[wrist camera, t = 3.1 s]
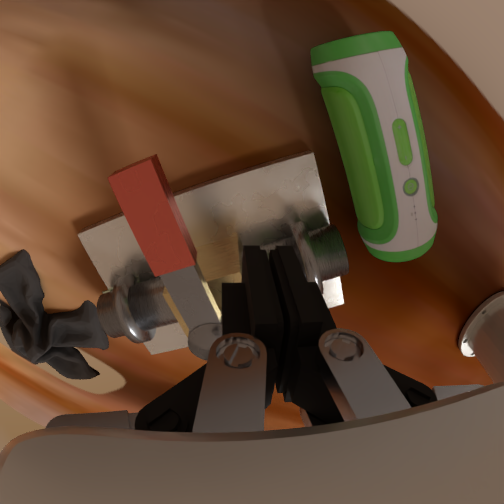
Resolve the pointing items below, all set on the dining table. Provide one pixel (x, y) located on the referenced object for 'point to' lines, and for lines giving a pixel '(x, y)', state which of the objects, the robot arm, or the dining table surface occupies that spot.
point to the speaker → (379, 142)
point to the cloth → (46, 323)
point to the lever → (168, 248)
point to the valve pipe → (218, 246)
